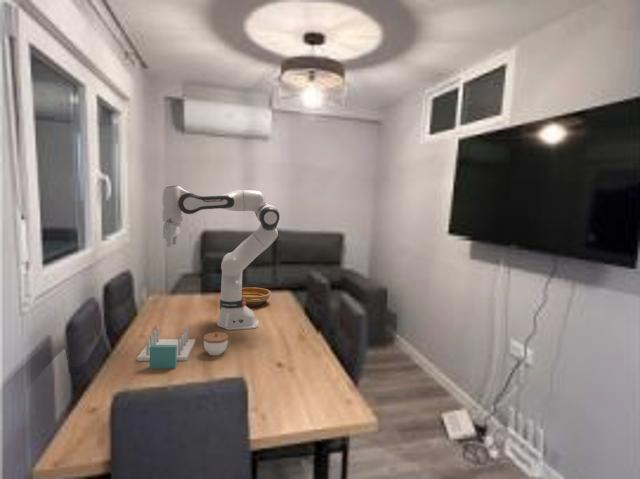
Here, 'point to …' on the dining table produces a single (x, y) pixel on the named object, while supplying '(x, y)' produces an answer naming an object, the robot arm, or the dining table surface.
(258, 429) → the dining table surface
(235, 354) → the dining table surface
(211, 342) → the lidded jar
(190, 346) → the dish rack
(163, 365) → the teal tile
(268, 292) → the brown woven oval bowl
